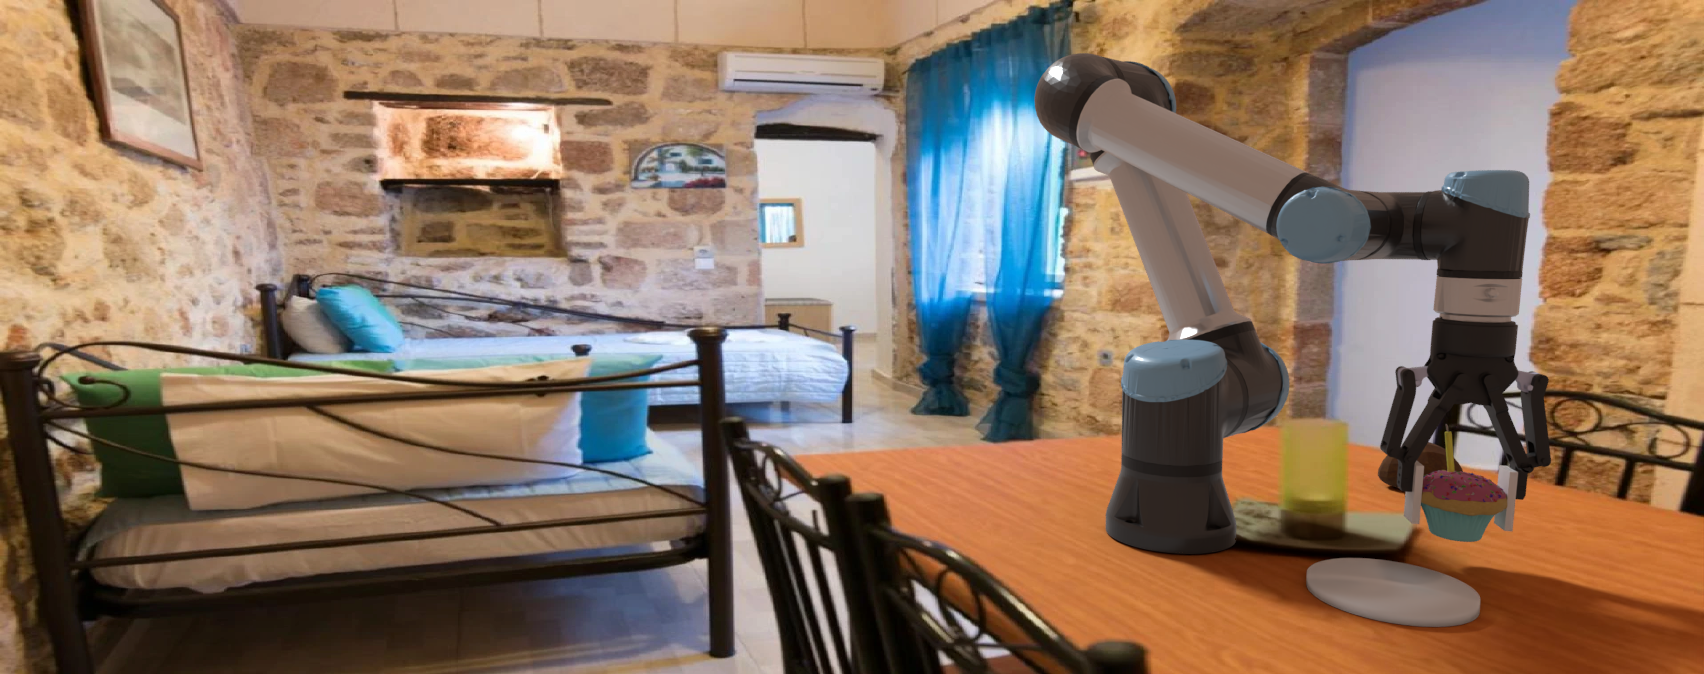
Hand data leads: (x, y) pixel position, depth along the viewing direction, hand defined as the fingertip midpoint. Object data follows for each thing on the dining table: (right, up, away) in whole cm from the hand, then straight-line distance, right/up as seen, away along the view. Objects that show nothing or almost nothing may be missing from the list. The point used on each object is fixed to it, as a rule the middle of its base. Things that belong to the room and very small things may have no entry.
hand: (1456, 523), depth 99 cm
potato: (+15, -2, +30) cm, 34 cm away
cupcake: (0, -2, 0) cm, 2 cm away
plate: (-12, -6, -8) cm, 15 cm away
